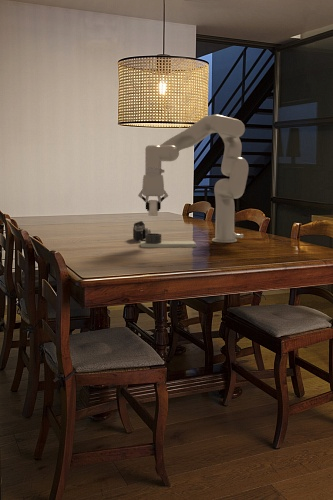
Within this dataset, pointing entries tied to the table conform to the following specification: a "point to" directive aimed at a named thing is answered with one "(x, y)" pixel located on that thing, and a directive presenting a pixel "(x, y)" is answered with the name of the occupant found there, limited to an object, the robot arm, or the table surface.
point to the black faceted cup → (153, 238)
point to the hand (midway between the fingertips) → (153, 210)
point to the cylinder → (153, 208)
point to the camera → (140, 231)
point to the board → (170, 244)
